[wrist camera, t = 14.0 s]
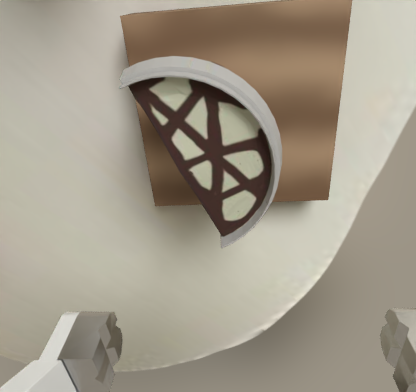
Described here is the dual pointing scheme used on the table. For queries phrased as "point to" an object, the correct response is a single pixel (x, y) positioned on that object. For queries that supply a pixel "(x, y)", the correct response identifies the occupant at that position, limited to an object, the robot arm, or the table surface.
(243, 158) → the food container
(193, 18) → the walnut base
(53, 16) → the table surface
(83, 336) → the robot arm
